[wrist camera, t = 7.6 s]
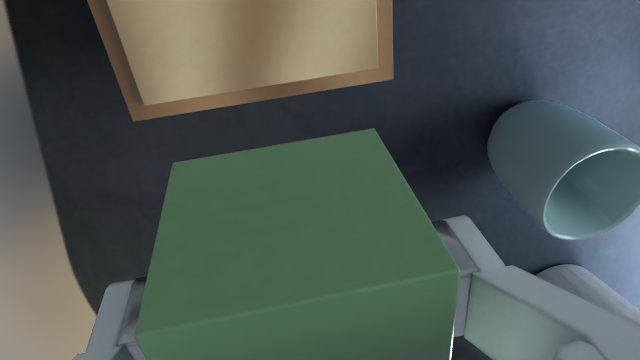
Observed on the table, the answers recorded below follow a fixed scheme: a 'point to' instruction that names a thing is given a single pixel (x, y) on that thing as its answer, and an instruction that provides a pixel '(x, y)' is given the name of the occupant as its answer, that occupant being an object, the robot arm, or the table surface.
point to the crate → (240, 49)
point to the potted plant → (590, 290)
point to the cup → (565, 168)
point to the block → (297, 259)
